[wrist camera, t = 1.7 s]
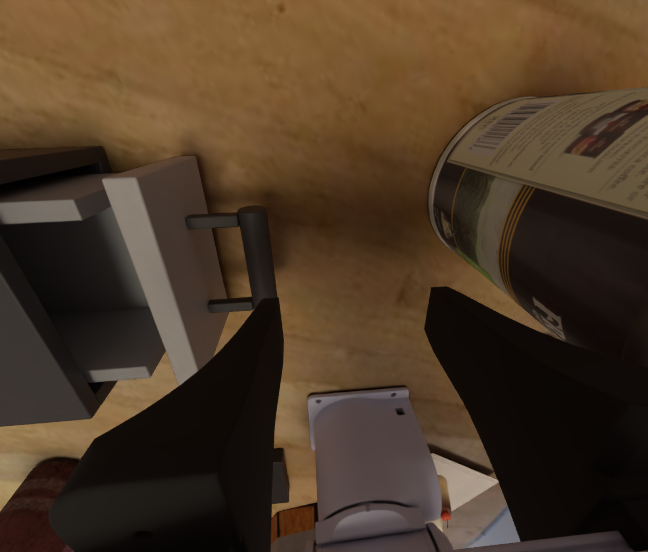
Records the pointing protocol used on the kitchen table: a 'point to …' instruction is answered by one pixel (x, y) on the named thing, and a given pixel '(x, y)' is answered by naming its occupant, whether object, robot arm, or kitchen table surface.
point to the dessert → (457, 485)
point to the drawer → (132, 265)
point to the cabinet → (40, 314)
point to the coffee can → (556, 212)
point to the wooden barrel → (293, 528)
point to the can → (35, 510)
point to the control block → (279, 478)
